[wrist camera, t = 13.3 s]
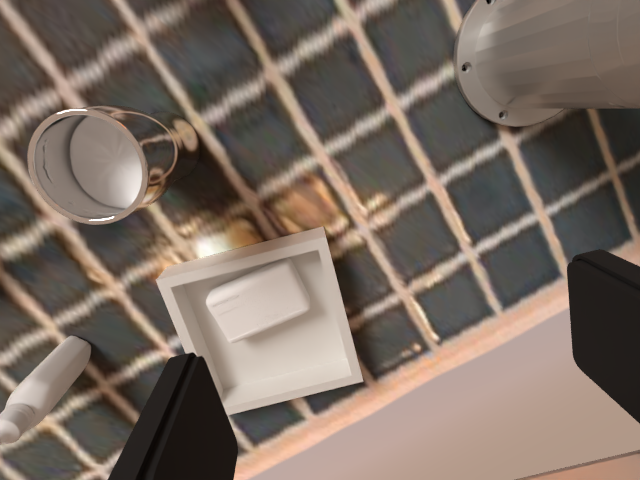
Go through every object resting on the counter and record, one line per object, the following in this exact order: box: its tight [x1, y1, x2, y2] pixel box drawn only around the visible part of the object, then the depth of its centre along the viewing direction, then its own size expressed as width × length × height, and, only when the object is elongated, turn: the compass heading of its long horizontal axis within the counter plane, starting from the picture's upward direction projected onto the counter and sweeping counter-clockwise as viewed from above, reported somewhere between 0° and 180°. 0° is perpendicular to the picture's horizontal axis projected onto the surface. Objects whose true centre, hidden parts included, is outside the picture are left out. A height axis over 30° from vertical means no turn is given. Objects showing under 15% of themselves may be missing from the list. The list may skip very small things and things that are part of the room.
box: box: [156, 226, 363, 415], centre depth 42 cm, size 16×16×4 cm
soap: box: [206, 258, 310, 343], centre depth 41 cm, size 9×6×3 cm, turn 114°
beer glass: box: [28, 105, 200, 225], centre depth 31 cm, size 7×7×15 cm
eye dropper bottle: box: [0, 336, 91, 444], centre depth 38 cm, size 4×6×12 cm
